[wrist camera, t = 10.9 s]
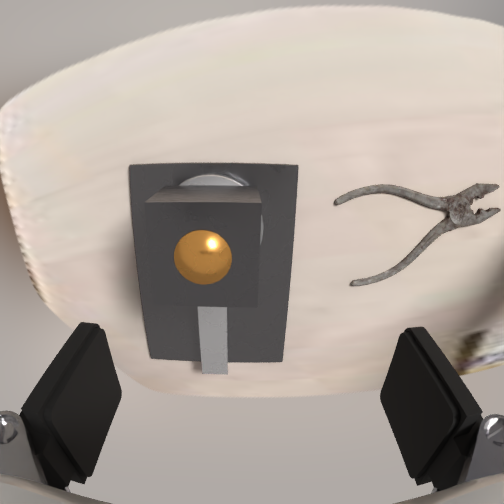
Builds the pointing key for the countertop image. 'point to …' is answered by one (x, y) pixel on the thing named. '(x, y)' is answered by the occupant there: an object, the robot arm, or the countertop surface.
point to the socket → (204, 245)
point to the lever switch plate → (270, 270)
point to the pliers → (453, 205)
